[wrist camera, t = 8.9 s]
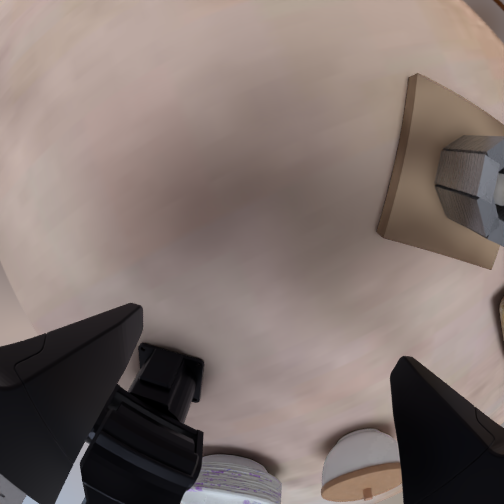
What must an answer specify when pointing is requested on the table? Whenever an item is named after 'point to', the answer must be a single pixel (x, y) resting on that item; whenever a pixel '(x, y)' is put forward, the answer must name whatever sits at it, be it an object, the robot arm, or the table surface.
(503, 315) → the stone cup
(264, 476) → the paper bowls
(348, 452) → the lidded jar
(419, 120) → the block
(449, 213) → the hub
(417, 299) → the table surface
